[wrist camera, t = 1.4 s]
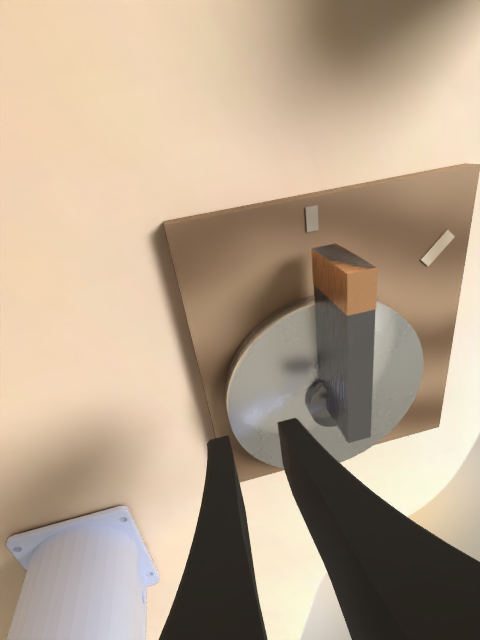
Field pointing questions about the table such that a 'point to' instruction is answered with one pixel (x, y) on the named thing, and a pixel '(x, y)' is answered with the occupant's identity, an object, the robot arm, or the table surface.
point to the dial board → (297, 278)
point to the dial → (326, 365)
